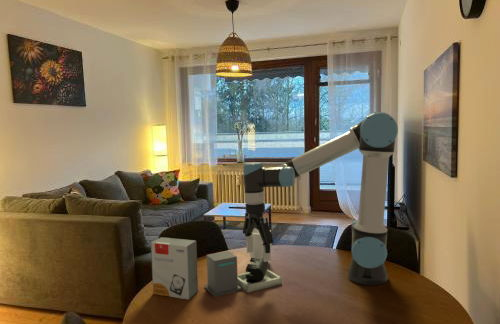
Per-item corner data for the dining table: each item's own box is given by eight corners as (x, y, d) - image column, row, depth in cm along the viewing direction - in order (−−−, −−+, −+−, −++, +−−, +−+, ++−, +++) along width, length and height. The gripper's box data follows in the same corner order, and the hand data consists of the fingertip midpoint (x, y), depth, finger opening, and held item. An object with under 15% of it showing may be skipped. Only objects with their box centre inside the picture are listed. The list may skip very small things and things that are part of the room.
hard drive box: (152, 294, 139) (149, 242, 138) (163, 286, 147) (161, 236, 145) (189, 300, 134) (186, 245, 132) (199, 291, 141) (196, 239, 140)
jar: (257, 258, 176) (256, 226, 175) (276, 262, 170) (275, 229, 169) (244, 265, 167) (243, 232, 166) (263, 269, 161) (262, 235, 160)
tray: (281, 283, 146) (281, 277, 145) (247, 292, 139) (247, 286, 138) (266, 273, 156) (266, 268, 156) (233, 281, 149) (233, 275, 149)
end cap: (263, 285, 142) (264, 269, 141) (245, 282, 144) (245, 266, 142) (268, 273, 152) (269, 257, 150) (251, 270, 153) (251, 255, 152)
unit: (241, 290, 141) (240, 256, 140) (214, 297, 136) (213, 262, 135) (230, 281, 150) (229, 249, 149) (204, 287, 145) (203, 254, 143)
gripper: (280, 205, 135) (283, 262, 137) (248, 197, 157) (251, 246, 159) (262, 208, 132) (266, 267, 134) (232, 199, 154) (235, 250, 156)
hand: (258, 256), depth 146 cm, fingers open, 13 cm apart
